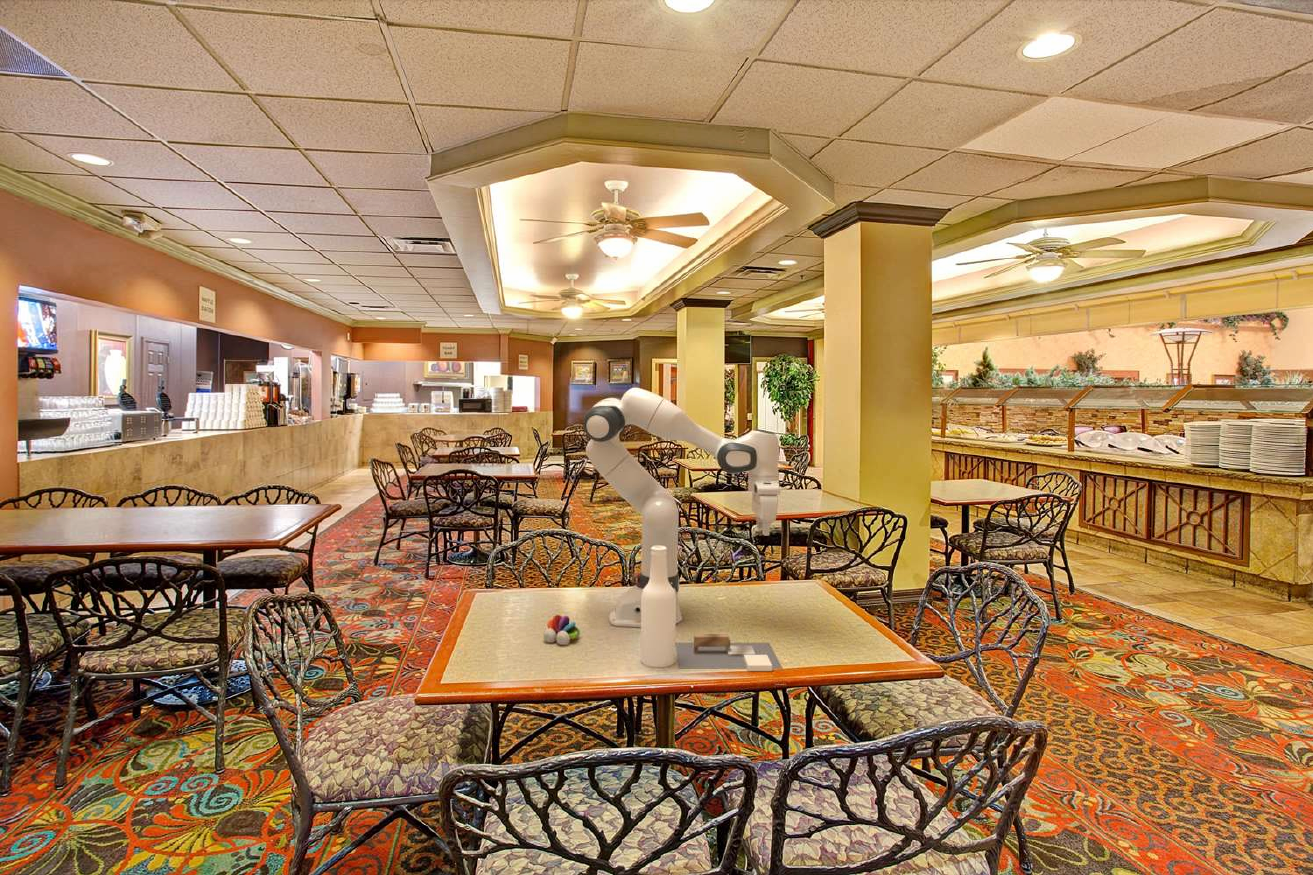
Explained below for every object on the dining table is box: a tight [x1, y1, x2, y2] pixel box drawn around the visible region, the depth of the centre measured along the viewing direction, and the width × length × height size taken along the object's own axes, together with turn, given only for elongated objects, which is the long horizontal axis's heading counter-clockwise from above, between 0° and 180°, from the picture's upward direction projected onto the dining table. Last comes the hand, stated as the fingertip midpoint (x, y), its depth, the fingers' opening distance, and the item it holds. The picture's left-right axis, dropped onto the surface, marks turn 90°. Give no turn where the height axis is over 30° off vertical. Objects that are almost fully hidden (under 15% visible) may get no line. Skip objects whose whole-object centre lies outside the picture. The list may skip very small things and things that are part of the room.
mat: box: [675, 642, 783, 670], centre depth 172 cm, size 26×18×1 cm
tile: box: [744, 655, 773, 672], centre depth 165 cm, size 6×2×7 cm
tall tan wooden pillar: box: [693, 633, 755, 656], centre depth 174 cm, size 16×6×4 cm, turn 91°
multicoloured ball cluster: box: [543, 614, 581, 646], centre depth 184 cm, size 8×10×7 cm
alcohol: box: [640, 546, 677, 668], centre depth 167 cm, size 9×9×30 cm
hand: (762, 532), depth 192 cm, fingers open, 8 cm apart
